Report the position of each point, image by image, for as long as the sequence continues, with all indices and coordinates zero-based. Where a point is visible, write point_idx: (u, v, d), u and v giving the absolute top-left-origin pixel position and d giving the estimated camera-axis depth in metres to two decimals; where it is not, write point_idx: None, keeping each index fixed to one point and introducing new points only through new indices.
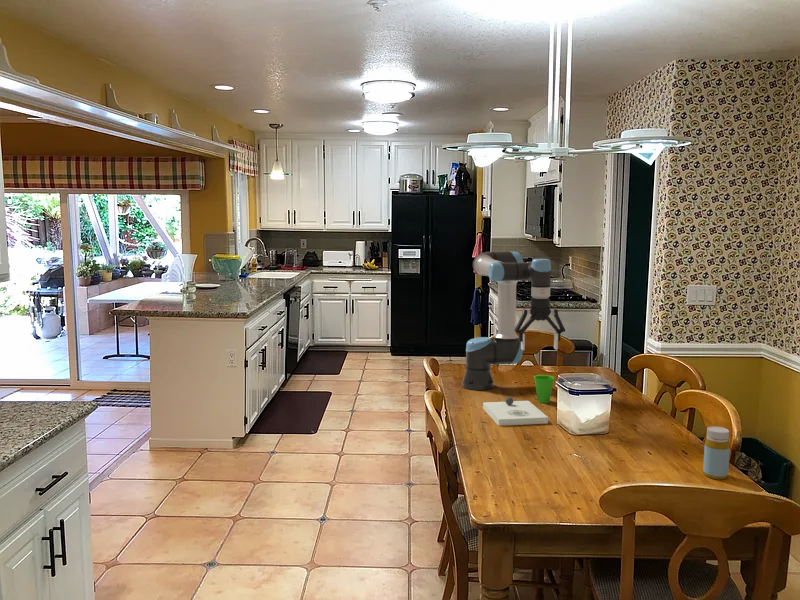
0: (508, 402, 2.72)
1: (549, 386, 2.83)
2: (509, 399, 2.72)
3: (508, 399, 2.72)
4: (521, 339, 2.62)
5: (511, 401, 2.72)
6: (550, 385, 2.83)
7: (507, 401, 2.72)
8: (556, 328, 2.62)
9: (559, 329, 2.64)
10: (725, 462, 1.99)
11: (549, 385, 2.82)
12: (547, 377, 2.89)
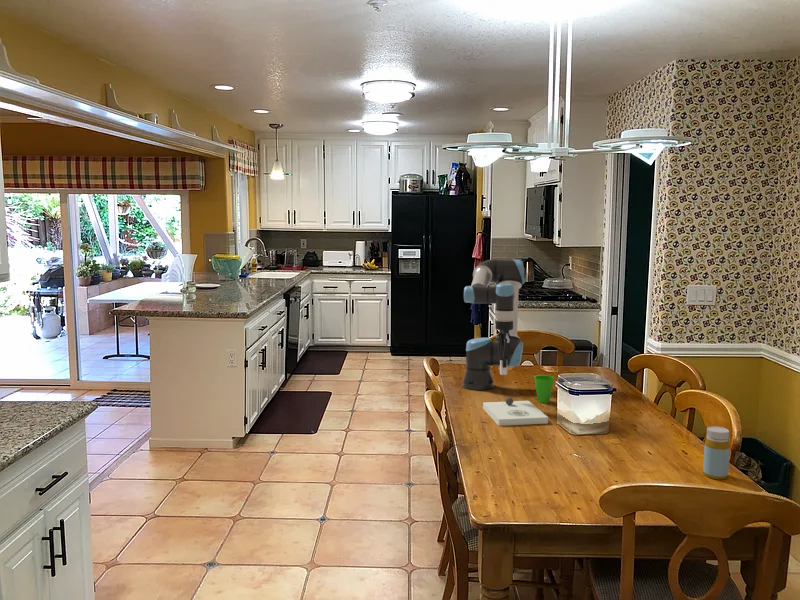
0: (508, 402, 2.72)
1: (549, 386, 2.83)
2: (509, 399, 2.72)
3: (508, 399, 2.72)
4: None
5: (511, 401, 2.72)
6: (550, 385, 2.83)
7: (507, 401, 2.72)
8: (501, 354, 2.78)
9: None
10: (725, 462, 1.99)
11: (549, 385, 2.82)
12: (547, 377, 2.89)
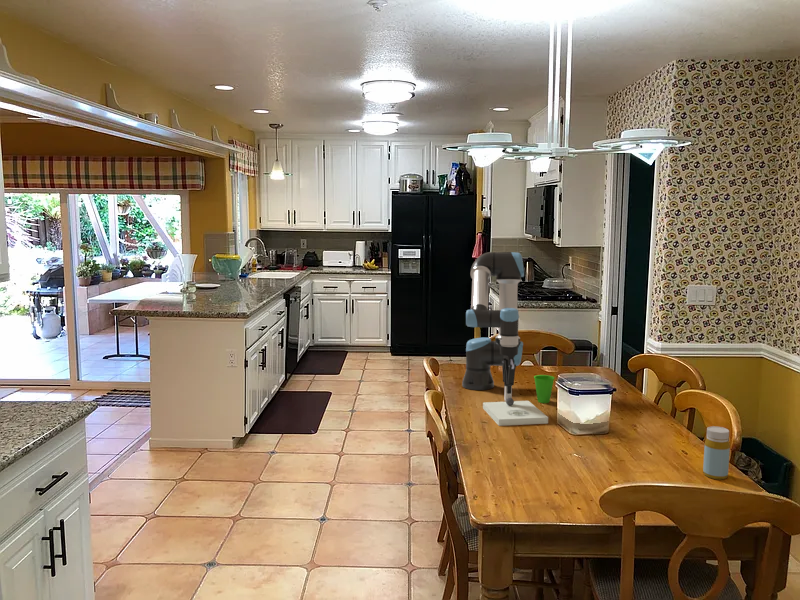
0: (508, 404, 2.71)
1: (549, 386, 2.83)
2: (510, 401, 2.71)
3: (509, 401, 2.71)
4: None
5: (512, 403, 2.71)
6: (550, 385, 2.83)
7: (508, 403, 2.71)
8: (506, 380, 2.72)
9: None
10: (725, 462, 1.99)
11: (549, 385, 2.82)
12: (547, 377, 2.89)
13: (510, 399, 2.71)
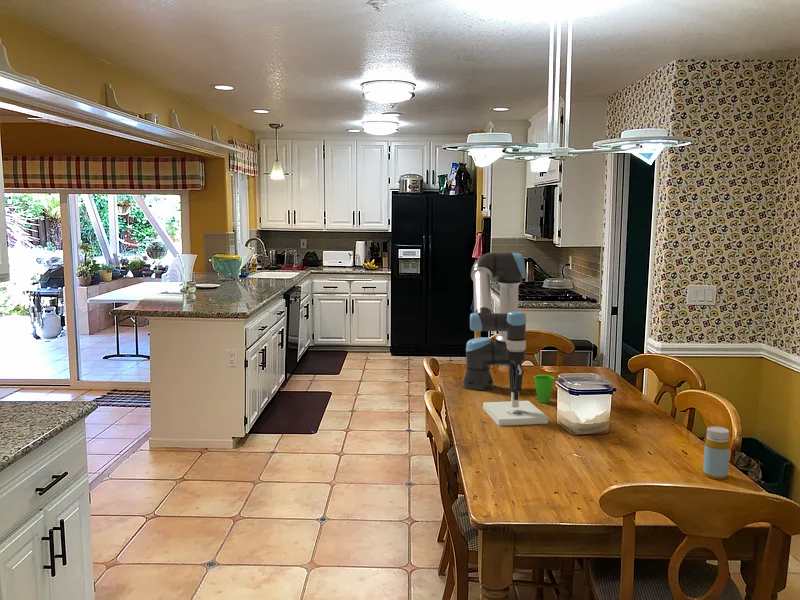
0: None
1: (549, 386, 2.83)
2: None
3: None
4: None
5: None
6: (550, 385, 2.83)
7: None
8: (513, 385, 2.63)
9: None
10: (725, 462, 1.99)
11: (549, 385, 2.82)
12: (547, 377, 2.89)
13: None
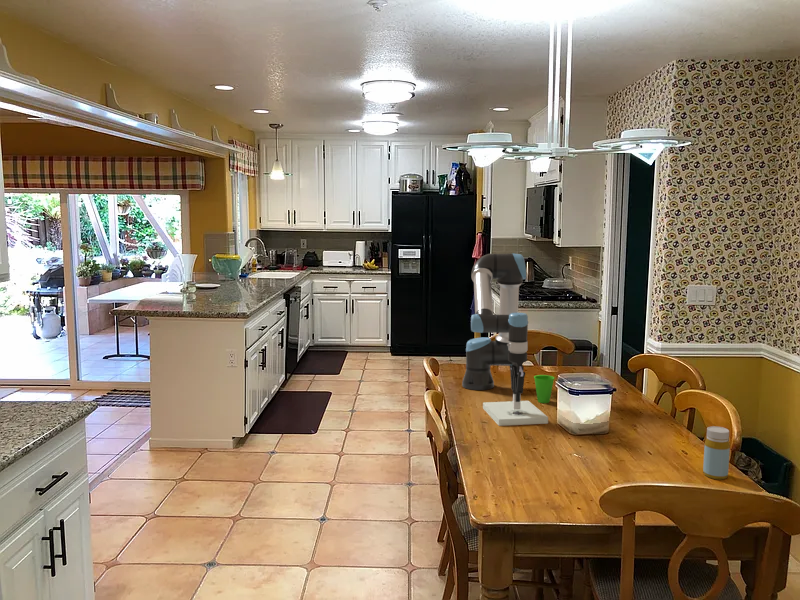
0: None
1: (549, 386, 2.83)
2: None
3: None
4: None
5: None
6: (550, 385, 2.83)
7: None
8: (515, 387, 2.61)
9: None
10: (725, 462, 1.99)
11: (549, 385, 2.82)
12: (547, 377, 2.89)
13: None
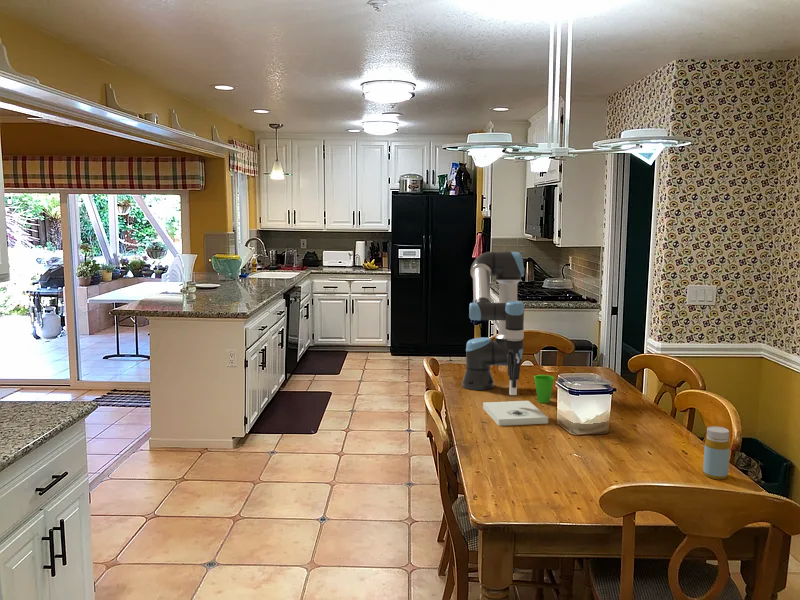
0: None
1: (549, 386, 2.83)
2: None
3: None
4: None
5: None
6: (550, 385, 2.83)
7: None
8: (511, 374, 2.68)
9: None
10: (725, 461, 1.99)
11: (549, 385, 2.82)
12: (547, 377, 2.89)
13: None
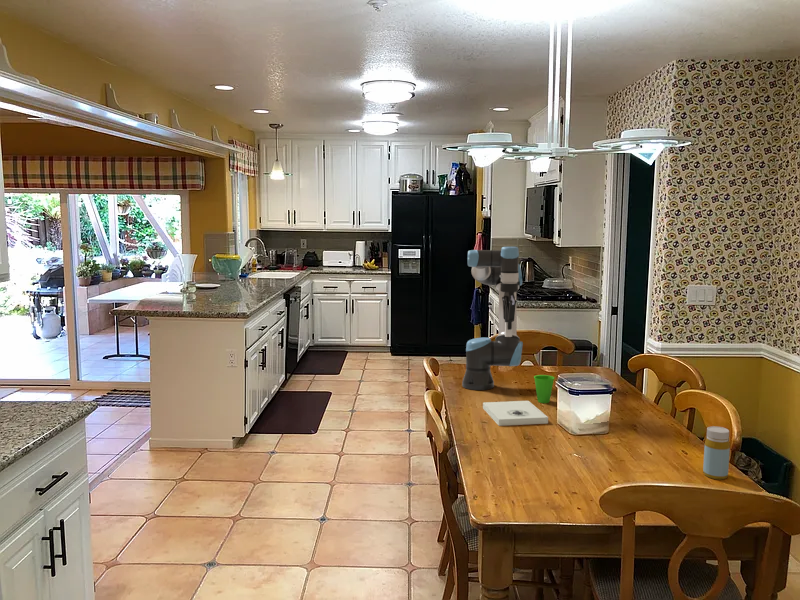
0: None
1: (549, 386, 2.83)
2: None
3: None
4: None
5: None
6: (550, 385, 2.83)
7: None
8: (507, 316, 2.80)
9: None
10: (725, 462, 1.99)
11: (549, 385, 2.82)
12: (547, 377, 2.89)
13: None
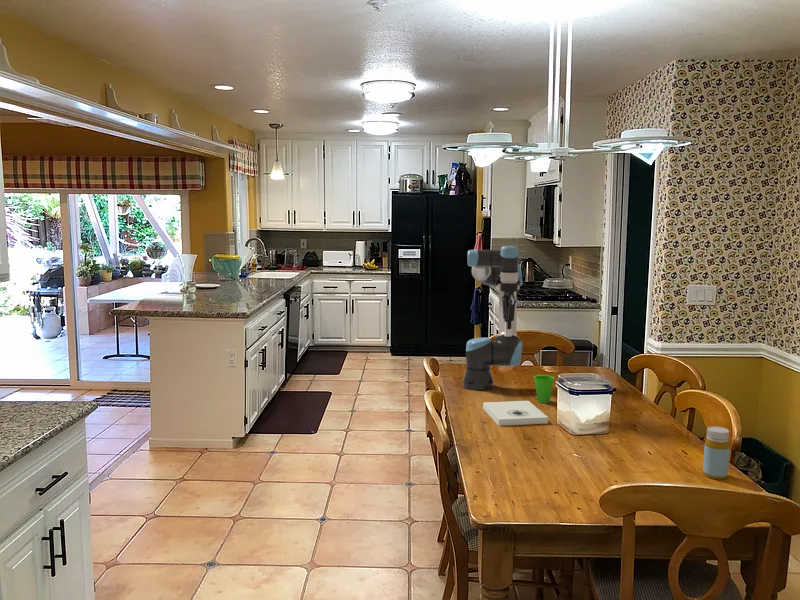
0: None
1: (549, 386, 2.83)
2: None
3: None
4: None
5: None
6: (550, 385, 2.83)
7: None
8: (506, 315, 2.81)
9: None
10: (725, 462, 1.99)
11: (549, 385, 2.82)
12: (547, 377, 2.89)
13: None
